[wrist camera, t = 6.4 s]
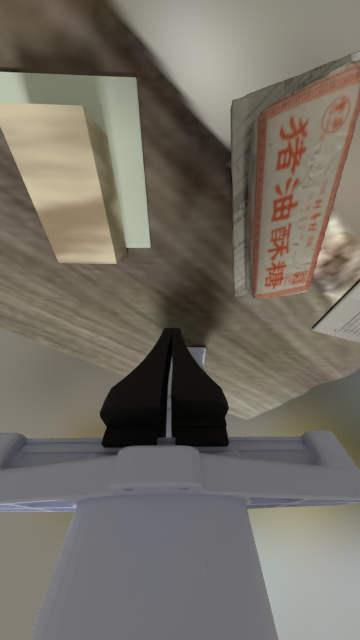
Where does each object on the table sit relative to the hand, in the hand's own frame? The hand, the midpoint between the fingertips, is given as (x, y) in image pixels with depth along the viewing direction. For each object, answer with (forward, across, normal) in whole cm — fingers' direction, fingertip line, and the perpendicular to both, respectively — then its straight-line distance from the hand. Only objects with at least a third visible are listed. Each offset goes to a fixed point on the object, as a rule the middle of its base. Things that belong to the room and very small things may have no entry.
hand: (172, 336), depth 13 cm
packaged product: (+11, -12, -9) cm, 19 cm away
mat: (+10, +9, -12) cm, 18 cm away
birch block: (+8, +9, -5) cm, 13 cm away
